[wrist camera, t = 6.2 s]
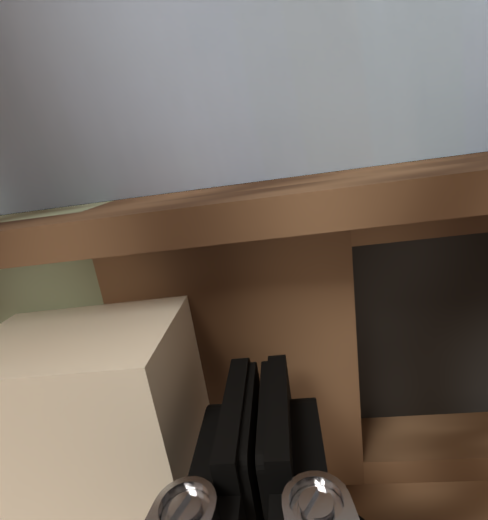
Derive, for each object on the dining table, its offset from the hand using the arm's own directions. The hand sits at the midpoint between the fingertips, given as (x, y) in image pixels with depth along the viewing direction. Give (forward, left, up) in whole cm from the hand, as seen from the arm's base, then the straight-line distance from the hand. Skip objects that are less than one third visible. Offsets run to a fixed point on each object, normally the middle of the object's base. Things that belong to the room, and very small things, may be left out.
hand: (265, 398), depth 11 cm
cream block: (+5, 0, -1) cm, 5 cm away
